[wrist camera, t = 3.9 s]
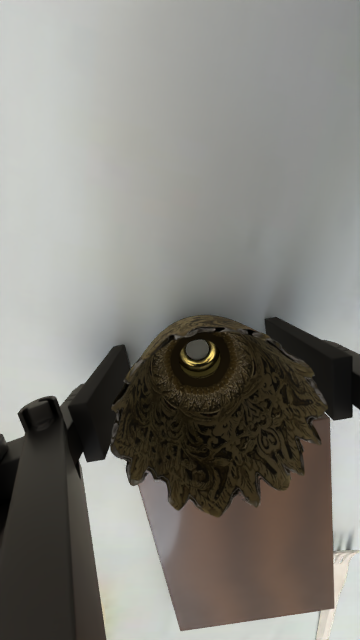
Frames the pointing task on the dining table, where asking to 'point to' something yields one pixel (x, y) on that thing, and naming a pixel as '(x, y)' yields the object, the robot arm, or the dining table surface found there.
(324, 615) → the fork
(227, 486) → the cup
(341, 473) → the dining table surface
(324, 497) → the walnut board
